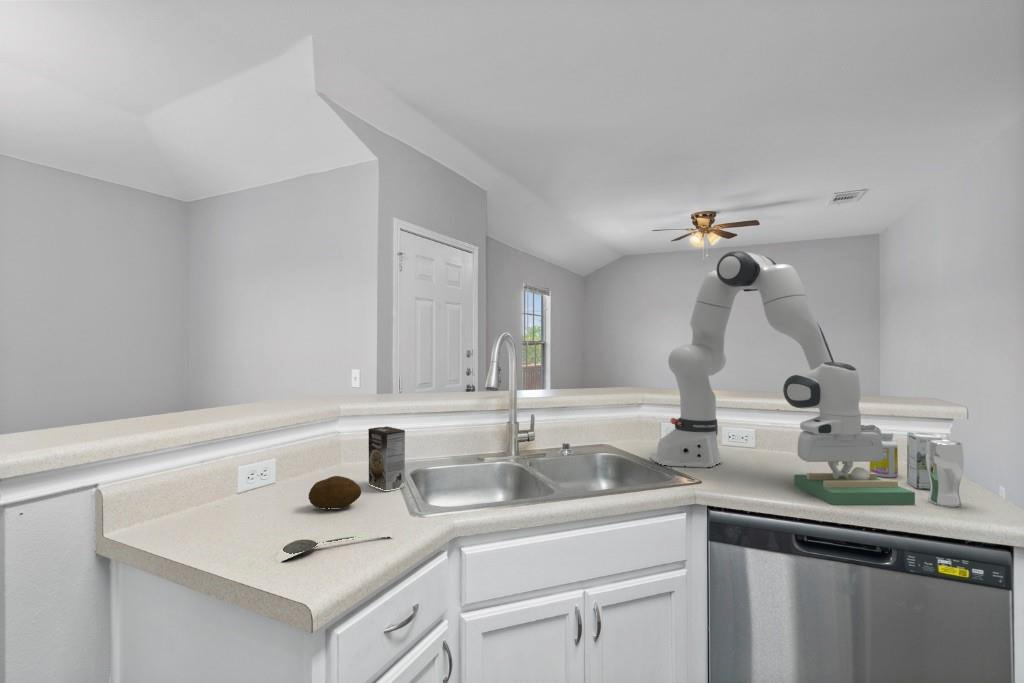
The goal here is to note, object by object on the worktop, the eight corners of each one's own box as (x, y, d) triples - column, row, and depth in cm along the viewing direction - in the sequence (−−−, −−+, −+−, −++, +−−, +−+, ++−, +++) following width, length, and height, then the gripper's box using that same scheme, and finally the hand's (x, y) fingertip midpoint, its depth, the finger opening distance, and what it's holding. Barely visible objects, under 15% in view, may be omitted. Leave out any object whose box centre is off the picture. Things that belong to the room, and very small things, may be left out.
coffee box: (367, 486, 135) (367, 428, 136) (387, 481, 140) (387, 425, 140) (385, 493, 129) (385, 432, 129) (405, 487, 134) (405, 429, 134)
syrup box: (931, 485, 133) (931, 432, 133) (943, 491, 128) (942, 436, 128) (906, 483, 135) (906, 431, 135) (916, 489, 130) (916, 435, 130)
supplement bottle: (888, 472, 146) (887, 430, 146) (903, 478, 140) (903, 434, 140) (864, 471, 147) (864, 429, 147) (878, 478, 141) (878, 433, 141)
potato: (311, 504, 120) (311, 473, 121) (363, 500, 123) (363, 470, 123) (304, 515, 113) (304, 482, 113) (360, 511, 115) (360, 479, 115)
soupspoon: (274, 556, 94) (273, 572, 88) (273, 539, 93) (272, 554, 87) (389, 533, 103) (395, 546, 97) (388, 517, 103) (395, 529, 97)
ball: (868, 467, 123) (876, 480, 123) (858, 462, 127) (866, 475, 127) (853, 474, 124) (862, 488, 124) (844, 470, 128) (852, 483, 128)
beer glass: (967, 510, 114) (966, 446, 114) (928, 504, 117) (928, 443, 117) (959, 501, 120) (959, 441, 120) (923, 497, 123) (922, 438, 123)
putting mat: (832, 504, 118) (832, 486, 118) (794, 485, 134) (794, 469, 134) (915, 504, 118) (914, 486, 118) (867, 485, 134) (867, 468, 134)
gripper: (871, 422, 129) (872, 474, 128) (793, 423, 129) (794, 475, 129) (889, 426, 122) (890, 481, 122) (807, 427, 123) (808, 481, 122)
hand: (840, 478), depth 125 cm, fingers closed
